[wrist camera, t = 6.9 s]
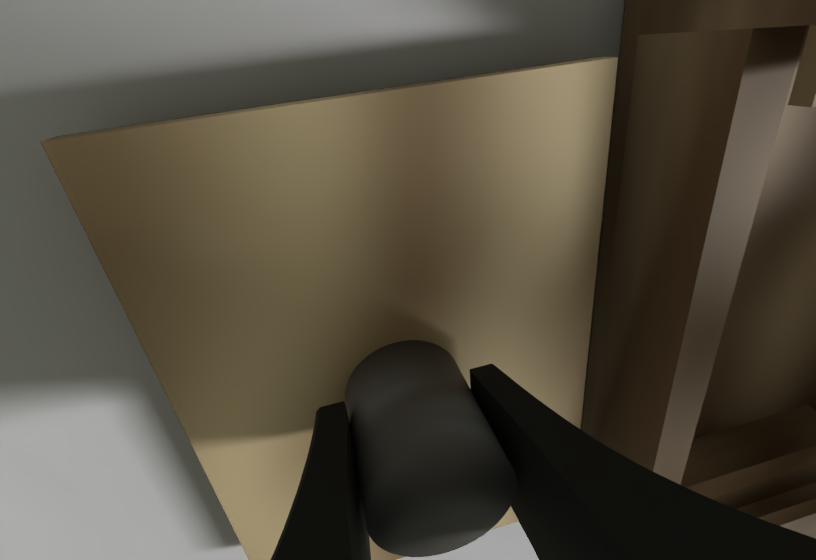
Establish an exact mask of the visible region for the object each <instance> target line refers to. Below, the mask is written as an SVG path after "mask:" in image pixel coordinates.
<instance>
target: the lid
mask: <svg viewBox="0 0 816 560" xmlns="http://www.w3.org/2000/svg"><path fill="white" fill-rule="evenodd" d="M617 63H618V57H597V58H590V59H583V60H576V61H569V62H562V63H556V64H549V65H542V66H535V67H528V68H521V69H514V70H508V71H501V72H494V73H487V74H480V75H473V76H467V77H460V78H453V79H446V80H439V81H432V82H426V83H419V84H412V85H405V86H398V87H391V88H385V89H378V90H371V91H364V92H357V93H350V94H344V95H337V96H330V97H323V98H316V99H309V100H303V101H296V102H289V103H282V104H275V105H268V106H262V107H255V108H248V109H241V110H234V111H227V112H221V113H214V114H207V115H200V116H193V117H186V118H180V119H173V120H166V121H159V122H152V123H145V124H138V125H132V126H125V127H118V128H111V129H104V130H97V131H91V132H84V133H77V134H70V135H63V136H56V137H54V138H51V139H48V140H45V141H42V142H41V144H42V146H43V148H44V150H45V152H46V154H47V156H48V158H49V160H50V162H51V164H52V166H53V168H54V170H55V172H56V174H57V176H58V178H59V180H60V182H61V184H62V186H63V188H64V190H65V192H66V194H67V196H68V198H69V200H70V202H71V204H72V206H73V208H74V210H75V212H76V214H77V216H78V218H79V220H80V222H81V224H82V226H83V228H84V230H85V232H86V234H87V236H88V238H89V240H90V242H91V244H92V246H93V248H94V250H95V252H96V254H97V256H98V258H99V260H100V262H101V264H102V266H103V268H104V270H105V272H106V274H107V276H108V278H109V280H110V282H111V284H112V286H113V288H114V290H115V292H116V294H117V296H118V298H119V300H120V302H121V304H122V306H123V308H124V310H125V312H126V314H127V316H128V318H129V320H130V322H131V324H132V327H133V329H134V331H135V333H136V335H137V337H138V339H139V341H140V343H141V345H142V347H143V349H144V351H145V353H146V355H147V357H148V359H149V361H150V363H151V365H152V367H153V369H154V371H155V373H156V375H157V377H158V379H159V381H160V383H161V385H162V387H163V389H164V391H165V393H166V395H167V397H168V399H169V401H170V403H171V405H172V407H173V409H174V411H175V413H176V415H177V417H178V419H179V421H180V423H181V425H182V427H183V429H184V431H185V433H186V435H187V437H188V439H189V441H190V443H191V445H192V447H193V449H194V451H195V453H196V455H197V457H198V459H199V461H200V463H201V465H202V467H203V469H204V471H205V473H206V475H207V477H208V479H209V481H210V483H211V485H212V487H213V489H214V491H215V493H216V495H217V497H218V499H219V501H220V503H221V505H222V507H223V509H224V511H225V513H226V515H227V517H228V519H229V521H230V523H231V525H232V527H233V529H234V531H235V533H236V535H237V537H238V539H239V541H240V543H241V545H242V547H243V549H244V551H245V553H246V555H247V557H248V559H249V560H271V558H272V555H273V553H274V551H275V548H276V546H277V544H278V541H279V539H280V536H281V534H282V531H283V529H284V526H285V523H286V520H287V518H288V515H289V512H290V509H291V506H292V504H293V501H294V498H295V495H296V492H297V489H298V486H299V483H300V480H301V476H302V473H303V469H304V466H305V463H306V459H307V456H308V452H309V448H310V443H311V439H312V435H313V429H314V424H315V416H316V411H317V410H318V409H319V407H322V406H326V405H330V404H334V403H338V402H342V401H344V402H345V406H346V410H347V414H348V418H349V422H350V428H351V434H352V440H353V446H354V452H355V460H356V467H357V473H358V479H359V486H360V492H361V498H362V504H363V510H364V516H365V523H366V529H367V531H368V534H369V540H370V552H371V560H396V559H399V558H402V557H405V556H408V557H424V556H432V555H438V554H442V553H446V552H449V551H452V550H455V549H458V548H460V547H462V546H464V545H467V544H469V543H470V542H472V541H474V540H476V539H478V538H479V537H481V536H482V535H484V534H485V533H486V532H488V531H489V530H491V529H494V528H498V527H501V526H504V525H507V524H510V523H514V522H517V521H519V520H518V518H517V517H516V515H515V513H514V511H513V509H512V507H511V504H512V502H513V500H514V498H515V494H516V490H517V477H516V474H515V471H514V469H513V467H512V465H511V463H510V461H509V460H508V458H507V456H506V454H505V452H504V450H503V448H502V447H501V445H500V443H499V441H498V439H497V437H496V436H495V434H494V432H493V430H492V428H491V426H490V424H489V423H488V421H487V419H486V417H485V415H484V413H483V411H482V410H481V408H480V406H479V404H478V402H477V400H476V399H475V397H474V395H473V393H472V391H471V386H470V369H472V368H476V367H480V366H484V365H488V364H493V365H495V366H496V367H498V368H499V369H500V370H501V371H502V372H504V373H505V374H506V375H507V376H509V377H510V378H511V379H512V380H514V381H515V382H516V383H517V384H519V385H520V386H521V387H522V388H524V389H525V390H526V391H528V392H529V393H530V394H532V395H533V396H534V397H535V398H537V399H538V400H539V401H541V402H542V403H543V404H545V405H546V406H548V407H549V408H550V409H552V410H553V411H555V412H556V413H557V414H559V415H560V416H561V417H563V418H564V419H566V420H567V421H569V422H570V423H572V424H573V425H575V426H576V427H578V428H579V429H580V428H581V418H582V408H583V398H584V388H585V378H586V369H587V359H588V349H589V339H590V329H591V319H592V309H593V300H594V290H595V280H596V270H597V260H598V250H599V240H600V231H601V221H602V211H603V201H604V191H605V181H606V172H607V162H608V152H609V142H610V132H611V122H612V112H613V103H614V93H615V83H616V73H617Z"/></svg>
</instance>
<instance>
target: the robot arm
mask: <svg viewBox="0 0 816 560" xmlns="http://www.w3.org/2000/svg"><path fill="white" fill-rule="evenodd" d="M470 386H471V391H472V393H473V395H474V397H475V399H476V400H477V402H478V404H479V406H480V408H481V410H482V411H483V413H484V415H485V417H486V419H487V421H488V423H489V424H490V426H491V428H492V430H493V432H494V434H495V436H496V437H497V439H498V441H499V443H500V445H501V447H502V448H503V450H504V452H505V454H506V456H507V458H508V460H509V461H510V463H511V465H512V467H513V469H514V471H515V474H516V477H517V490H516V494H515V498H514V500H513V502H512V504H511V507H512V509H513V511H514V513H515V515H516V517H517V518H518V520H519V522H520V524H521V526H522V528H523V529H524V531H525V533H526V535H527V537H528V539H529V541H530V542H531V544H532V546H533V548H534V550H535V552H536V554H537V556H538V558H539V560H816V538H813V537H810V536H807V535H804V534H801V533H799V532H796V531H793V530H790V529H787V528H784V527H782V526H779V525H776V524H773V523H770V522H767V521H765V520H762V519H759V518H757V517H754V516H752V515H749V514H747V513H744V512H742V511H739V510H737V509H734V508H732V507H730V506H727V505H725V504H722V503H720V502H717V501H715V500H713V499H710V498H708V497H706V496H704V495H701V494H699V493H697V492H695V491H693V490H690V489H688V488H686V487H684V486H682V485H680V484H678V483H676V482H673V481H671V480H669V479H667V478H665V477H663V476H661V475H659V474H657V473H655V472H653V471H651V470H649V469H647V468H645V467H643V466H641V465H639V464H637V463H636V462H634V461H632V460H630V459H628V458H627V457H625V456H623V455H621V454H620V453H618V452H616V451H614V450H613V449H611V448H609V447H607V446H606V445H604V444H603V443H601V442H599V441H598V440H596V439H594V438H593V437H591V436H590V435H588V434H587V433H585V432H584V431H582V430H581V429H579V428H578V427H576V426H575V425H573V424H572V423H570V422H569V421H567V420H566V419H564V418H563V417H561V416H560V415H559V414H557V413H556V412H555V411H553V410H552V409H550V408H549V407H548V406H546V405H545V404H543V403H542V402H541V401H539V400H538V399H537V398H535V397H534V396H533V395H532V394H530V393H529V392H528V391H526V390H525V389H524V388H522V387H521V386H520V385H519V384H517V383H516V382H515V381H514V380H512V379H511V378H510V377H509V376H507V375H506V374H505V373H504V372H502V371H501V370H500V369H499V368H498V367H496V366H495V365H493V364H488V365H484V366H480V367H476V368H472V369H470ZM271 560H371V552H370V540H369V534H368V531H367V529H366V523H365V516H364V510H363V504H362V498H361V492H360V486H359V479H358V473H357V467H356V460H355V452H354V446H353V440H352V434H351V428H350V422H349V418H348V414H347V410H346V406H345V402H344V401H342V402H338V403H334V404H330V405H326V406H322V407H319V409H318V410H317V411H316V416H315V424H314V429H313V435H312V439H311V443H310V448H309V452H308V456H307V459H306V463H305V466H304V469H303V473H302V476H301V480H300V483H299V486H298V489H297V492H296V495H295V498H294V501H293V504H292V506H291V509H290V512H289V515H288V518H287V520H286V523H285V526H284V529H283V531H282V534H281V536H280V539H279V541H278V544H277V546H276V548H275V551H274V553H273V555H272V558H271Z"/></svg>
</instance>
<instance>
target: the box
mask: <svg viewBox="0 0 816 560" xmlns="http://www.w3.org/2000/svg"><path fill="white" fill-rule="evenodd" d="M581 430H582V431H584V432H585V433H587V434H588V435H590V436H591V437H593V438H594V439H596V440H598V441H599V442H601V443H603V444H604V445H606V446H607V447H609V448H611V449H613V450H614V451H616V452H618V453H620V454H621V455H623V456H625V457H627V458H628V459H630V460H632V461H634V462H636V463H637V464H639V465H641V466H643V467H645V468H647V469H649V470H651V471H653V472H655V473H657V474H659V475H661V476H663V477H665V478H667V479H669V480H671V481H673V482H676V483H678V484H680V485H682V486H684V487H686V488H688V489H690V490H693V491H695V492H697V493H699V494H701V495H704V496H706V497H708V498H710V499H713V500H715V501H717V502H720V503H722V504H725V505H727V506H730V507H732V508H734V509H737V510H739V511H742V512H744V513H747V514H749V515H752V516H754V517H757V518H759V519H762V520H765V521H767V522H770V523H773V524H776V525H779V526H782V527H784V528H787V529H790V530H793V531H796V532H799V533H801V534H804V535H807V536H810V537H813V538H816V0H626V1H625V11H624V21H623V30H622V40H621V50H620V59H619V69H618V79H617V89H616V98H615V108H614V118H613V128H612V137H611V147H610V157H609V166H608V176H607V186H606V196H605V205H604V215H603V225H602V235H601V244H600V254H599V264H598V274H597V283H596V293H595V303H594V312H593V322H592V332H591V342H590V351H589V361H588V371H587V381H586V390H585V400H584V410H583V419H582V429H581Z"/></svg>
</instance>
